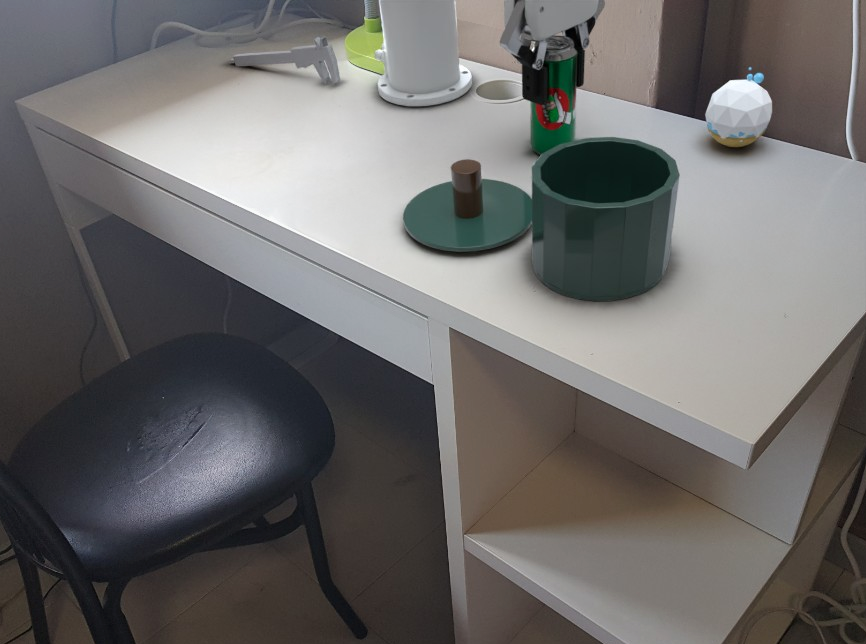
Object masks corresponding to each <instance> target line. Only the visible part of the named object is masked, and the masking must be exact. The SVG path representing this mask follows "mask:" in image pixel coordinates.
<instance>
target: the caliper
mask: <svg viewBox="0 0 866 644" xmlns="http://www.w3.org/2000/svg"><path fill="white" fill-rule="evenodd" d="M313 43H314V44H312V45H301V46H294V47H292V48H290V50H278V51H277V50H276V51H263V52H262V51H261V52H249V53H247V52H246V53H237V54H234V55H233V56H232V58H231V59H229V60H228V64H234V65H235V66H236V67H249V66H263V65H264V66H265V65H266V66H267V65H284V64H295V67H296V68H297V70H298V69H301V68H303V69H307V68H309V67H311V66H312V65H313V67H314V69H315V70H316V72H317V74H318V76H319V77H320V79H321V81H322V83H323V84H325V85H329V84H331V82H332V84H333V85H335V84H337V83H338V82H340V80H341V77H340V70H339V65H338V59H337V56H336V53H335V50H334V48H333V45H332V44H329V42H328V41H327V37H326V35H324V36H323V37H321V38H320V36H317V37H316V38H314V39H313Z"/></svg>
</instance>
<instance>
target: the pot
mask: <svg viewBox="0 0 866 644" xmlns="http://www.w3.org/2000/svg"><path fill="white" fill-rule="evenodd" d="M679 183H680V172H679V168H678V164H677V161H676V159H675V158H673V157H672V156H671V155H670V154H668V153H667V152H666V151H665V150H663V149H662V148H660V147H657V146H654V145H652V144H649V143H647V142H644V141H641V140H638V139H631V138H625V137H616V136H603V137H602V136H600V137H585V138H579V139H575V141H571V142H567V143H563V144H560V145H558V146H556V147H554V148H552V149H550V150H548V151H546V152H544V153H543V154H541V155H540V156H539V157H538V158H537V159H536V160H535V162H534V163H533V164H532V165H531V199H532V225H531V257H532V258H531V261H532V264H531V265H532V269H533V272H534V274H535V276H536V278H537V279H538V280H539V281H540V282H542V284H543V285H545V287H547V288H549V289H550V290H552V291H554V292H556V293H558V294H560V295H563V296H566V297H568V298H573V299H577V300H583V301H591V302H608V301H609V302H610V301H611V302H612V301H619V300H625V299H629V298H632V297H636V296H638V295H641V294H643V293H645V292H647V291H649V290H650V289H652V288H653V287H655V286H656V285H657V284H658V283H660V281H661V280H662V279H663V278H664V276H665V274H666V271H667V269H668V268H667V267H668V264H669V262H670V255H671V247H672V238H673V229H674V222H675V215H676V206H677V200H678V199H677V198H678V191H679Z"/></svg>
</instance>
